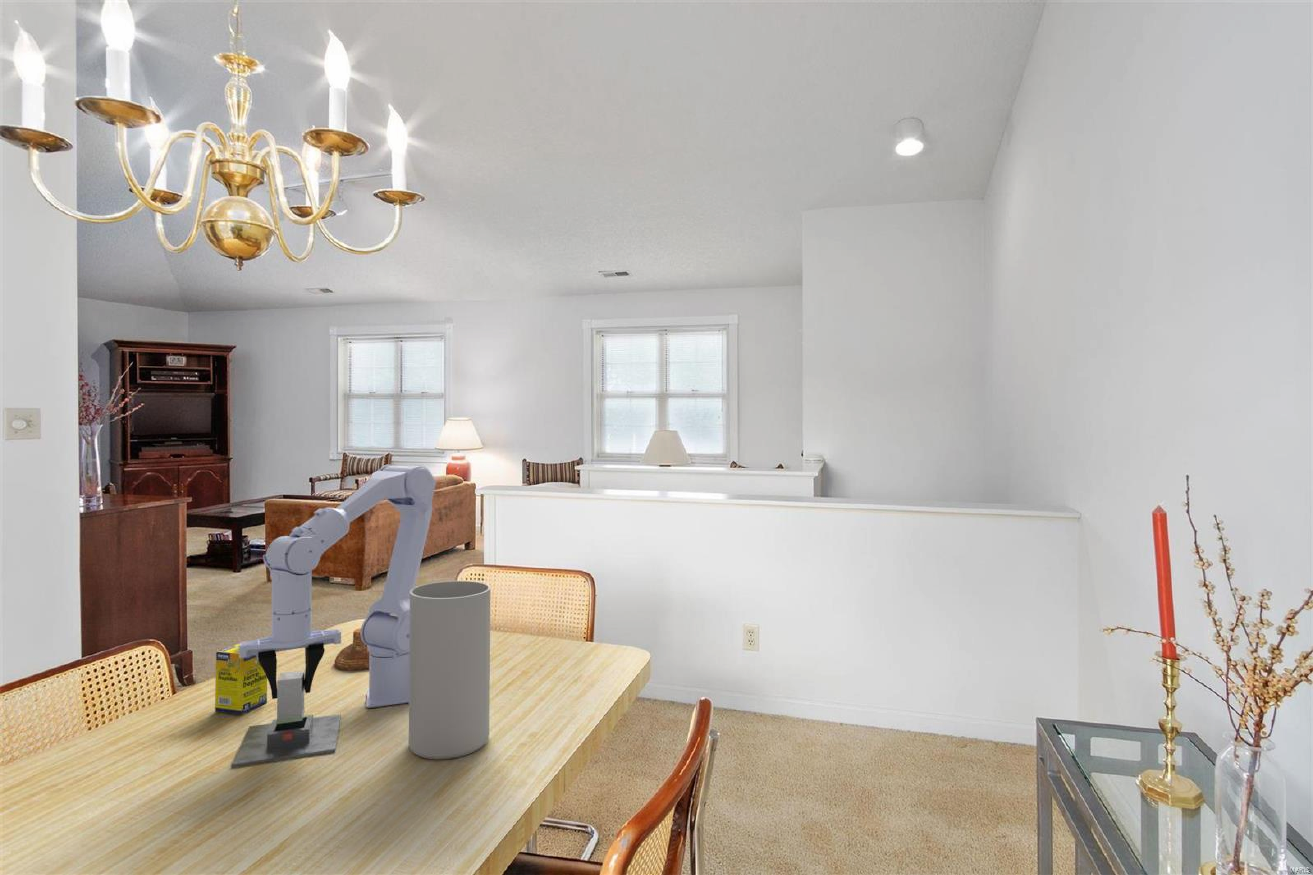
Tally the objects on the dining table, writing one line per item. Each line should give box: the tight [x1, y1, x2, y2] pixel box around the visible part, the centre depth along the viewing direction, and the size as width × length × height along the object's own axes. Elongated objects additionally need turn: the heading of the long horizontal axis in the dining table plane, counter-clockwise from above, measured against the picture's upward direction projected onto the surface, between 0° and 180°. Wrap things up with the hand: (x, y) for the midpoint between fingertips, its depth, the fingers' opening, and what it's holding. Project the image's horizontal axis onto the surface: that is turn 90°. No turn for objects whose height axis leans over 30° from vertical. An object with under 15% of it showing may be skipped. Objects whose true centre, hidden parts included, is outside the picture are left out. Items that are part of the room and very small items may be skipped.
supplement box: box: [214, 643, 268, 716], centre depth 122 cm, size 6×6×11 cm
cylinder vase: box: [408, 580, 492, 760], centre depth 109 cm, size 12×12×25 cm
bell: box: [334, 627, 370, 671], centre depth 147 cm, size 12×12×7 cm
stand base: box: [231, 713, 342, 768], centre depth 109 cm, size 14×14×3 cm
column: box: [276, 670, 306, 724], centre depth 109 cm, size 4×4×7 cm
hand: (291, 693), depth 109 cm, fingers closed on column, 4 cm apart
